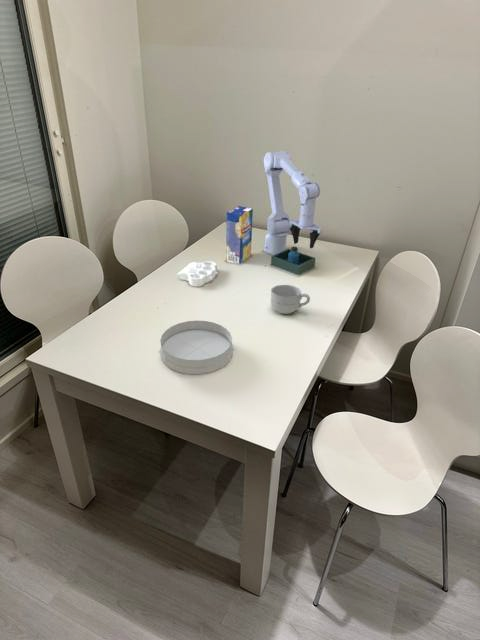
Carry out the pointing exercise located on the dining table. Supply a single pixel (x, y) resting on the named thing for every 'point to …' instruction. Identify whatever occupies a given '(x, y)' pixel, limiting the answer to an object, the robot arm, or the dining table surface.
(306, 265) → the bin
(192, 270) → the white scalloped tray
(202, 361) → the dish
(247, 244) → the beverage box
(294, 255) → the bottle
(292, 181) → the robot arm
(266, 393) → the dining table surface
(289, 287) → the teacup
